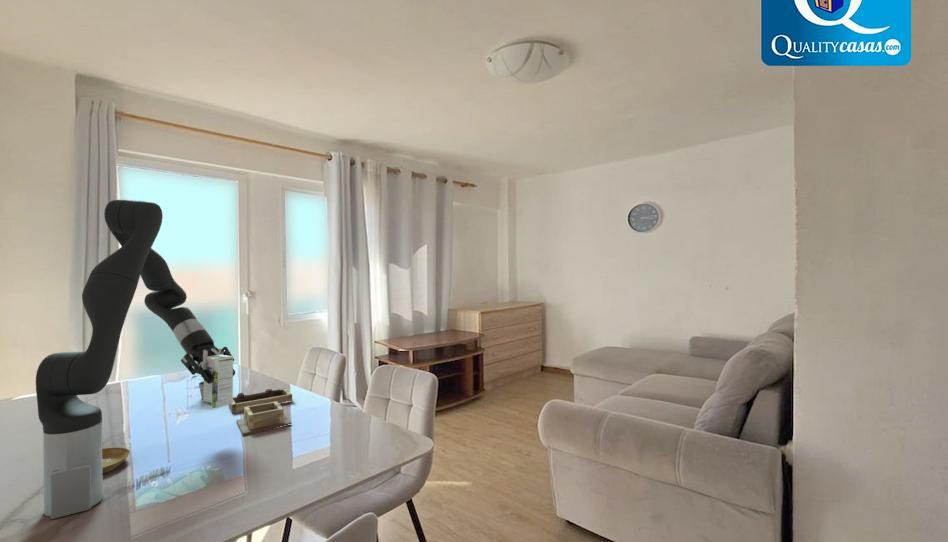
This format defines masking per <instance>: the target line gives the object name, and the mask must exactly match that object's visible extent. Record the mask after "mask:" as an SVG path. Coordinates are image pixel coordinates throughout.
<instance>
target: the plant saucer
mask: <svg viewBox="0 0 948 542" xmlns="http://www.w3.org/2000/svg"><path fill="white" fill-rule="evenodd" d="M130 454H131V450H130V449H129V448H126V447H120V446H119V447H115V446H114V447H106V448H102V459H105V461H106V459H109V458H110V459H111V461H112V462H111V461H109V462H107V461H106V462H105V461H103V463H102V467H103V473H104V474H106V473H108V472H111V471H113V470H115V469H116V468H118V467H119V466H120V465H122V464H123V463H124V461H125V460H126V459H127V458H128V457H129V455H130Z"/></svg>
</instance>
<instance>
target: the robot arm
mask: <svg viewBox="0 0 948 542" xmlns="http://www.w3.org/2000/svg"><path fill="white" fill-rule="evenodd" d="M162 210H163V209H162V208H161V206H160V205H159V204H158V203H157V202H154V201H148V200H136V199H135V200H134V199H133V200H132V199H121V198H120V199H119V198H118V199H111V200H110V201H109V202H108V203H107V204H106V205H105V208H104V213H103V215H104V221H105V224H106V225H107V227H108V229H109V231H110V232H111V235H112V236H114V238H115V240H116V241H117V242H118V243H119V245H120V246H121V247H119V248H118V249H117V250H115V251H114V252H112V253H111V254H110V255H108V256H106V257H105V258H104V259H103V260H102V261H100V262H99V263H98V264H97V265H96V266H94V268H93V269H92V270H91V271H90V274H89V276H88V277H87V278H88V279H87V281H86V283H85V286H84V288H83V291H82V294H81V300H82V305H83V307H84V310H85V312H86V314H87V317H88V318H89V320H90V323H91V328H92V332H91V336H90V337H91V338H90V340H89V341H90V342H89V345H88V347H87V349H86V350H85V351H69V352H67V351H64V352H55V353H54V352H53V353H51V354H49V355H46V357H44V358H43V360H41V362H40V363H39V365H38V367H37V370H36V375H35V394H36V402H37V413H38V414H37V415H38V419H39V421H40V423H41V425H42V443H43V445H42V447H43V448H42V451H43V452H42V453H43V454H42V455H43V456H42V457H43V458H42V459H43V460H42V461H43V464H42V465H43V507H44V508H43V512H44V516H45V517H49V518H50V519H49V520H55V519H58V518H63V517H65V516H69V515H73V514H77V513H81V512H84V511H89V510H91V509H92V508H93V506H95V505H97V504H99V503H100V502H101V500H103V497H104V477H103V475H104V474H103V467H102V449H103V413H102V410H101V408H100V407H98V406H96V405H92V404H90V403H87V402H84V401H83V400H81V399H80V398H79V397H78V396H81V395H82V396H86V395H95V394H98V393H99V392H101V391H102V390H103V389H104V388H105V387H107V384H108V383H109V380H110V379H111V376H112V372H113V370H114V369H113V368H114V365H115V360H116V357H117V351H118V349H119V348H118V347H119V344H120V343H119V342H120V338H121V334H122V331H123V327H124V325H125V324H124V323H125V321H126V317H127V314H128V311H129V308H130V306H131V304H132V302H133V299H134V296H135V294H136V291H137V288H138V284H139V282H140V281H139V280H140V278H141V280H142V282H143V284H144V286H145V288H146V289H148V290H149V291H151V292H149V293H147V294H146V296H145V297H144V305H145V307H146V308H147V309H148V310H149V311H150V312H151V313H153V314H154V315H156V316H157V317H159V318H160V319H161V320H163V321H164V322H165V323H166V324H167V326H168V327H169V328H170V330H171V332H173V334H174V337H175V339H176V341H177V342H178V343H179V345H180V347H182V349H183V351H184V352H185V354H184V356H182V358H181V359H180V362H181V363H182V364H183V365H184V366H185V368H186V369H187V371H189V372H190V374H192V376H194V375H196V374H197V375H198V376H200V377H201V376H202V377H201V378H202V379H203V378H204V379H203V381H204V380H205V381H206V382H207V383H208V384H210V383H212V382H213V381H214V377H213V375H212V374H211V372H210V371H209V370H208V369H207V360H206V357H208V356H212V355H227V356H233V355H232V353H231V351H230V350H229V349H228V347H227V346H223V347H222V348H217V346H215V344H214V343H215V342H214V339H213V338H212V336H211V335H210V334H209V333H208V331H207V330H206V328H205V326H203V324H202V323H201V322H200V321H199V320H198V319H197V318H196V316H195V315H194V313H193V312H192V310H190V308H188V307H185V306H182V305H183V304H184V303H185V302H186V301H187V293H186V291H185V290H184V289H183V288H182V286H181V285H179V284H178V282H176V280H175V278H174V277H173V276H172V273H171V270H170V268H169V265H168V263H167V262H166V260H165V259H164V258H163V256H162V255H161V254H159V253H158V252H157V251H156V250H154V249H153V248H152V247H153V245H154V243H155V241H156V239H157V236H158V235H159V232H160V230H161V228H162V227H161V226H162V224H163V218H164V217H163V211H162ZM179 306H180V307H179ZM181 306H182V307H181ZM234 361H235V358H234V357H233V362H234ZM206 369H207V370H206ZM235 375H236V370H235V369H234V368H233V377H234V376H235Z"/></svg>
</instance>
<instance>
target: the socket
mask: <svg viewBox="0 0 948 542" xmlns="http://www.w3.org/2000/svg"><path fill="white" fill-rule="evenodd" d="M292 423H293V422H291V420H290V419H289V418H288V416H286V415H285V413H284V408H283V407H282V404H281V405H280V404H279V403H278V402H277V401H275V402H269V403H264V404H258V405H253V406H247V407H244V411H243V418H240V419H236V424H237V426H238V429H239V431H240V432H241V434H242V436H243V437H244V436H248V435H253V434H254V435H255V434H258V433H262V432H268V431H271V429H273V430H275V429H274V428H277V427H280V426H284V425H288V424H292ZM277 429H278V428H277Z"/></svg>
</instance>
